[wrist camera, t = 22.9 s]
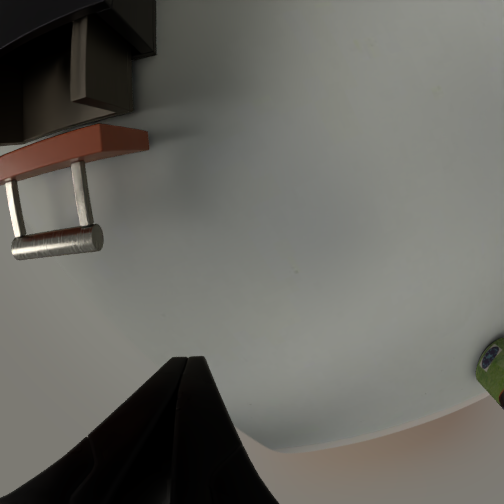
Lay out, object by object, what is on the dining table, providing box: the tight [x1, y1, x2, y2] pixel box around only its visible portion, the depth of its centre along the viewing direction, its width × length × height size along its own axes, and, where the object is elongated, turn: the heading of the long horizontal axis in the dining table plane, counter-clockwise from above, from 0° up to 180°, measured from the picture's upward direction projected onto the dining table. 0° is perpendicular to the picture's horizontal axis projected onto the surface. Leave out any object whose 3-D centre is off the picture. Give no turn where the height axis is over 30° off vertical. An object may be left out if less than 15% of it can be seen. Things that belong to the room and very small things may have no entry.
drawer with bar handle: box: [0, 12, 149, 260], centre depth 12 cm, size 17×10×7 cm, turn 5°
